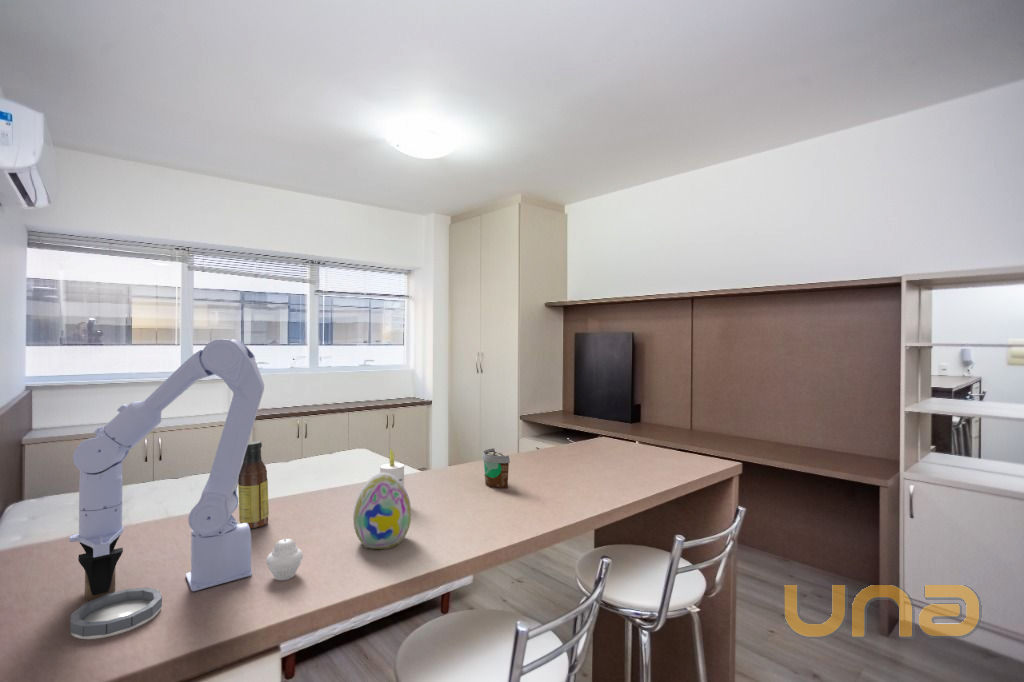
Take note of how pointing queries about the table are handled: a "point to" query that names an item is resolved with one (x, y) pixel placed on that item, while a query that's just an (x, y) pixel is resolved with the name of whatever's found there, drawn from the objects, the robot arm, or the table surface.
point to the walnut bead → (90, 597)
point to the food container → (495, 469)
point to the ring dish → (115, 613)
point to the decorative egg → (382, 512)
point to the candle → (393, 468)
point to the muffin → (284, 559)
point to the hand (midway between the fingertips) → (100, 584)
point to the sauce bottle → (253, 488)
